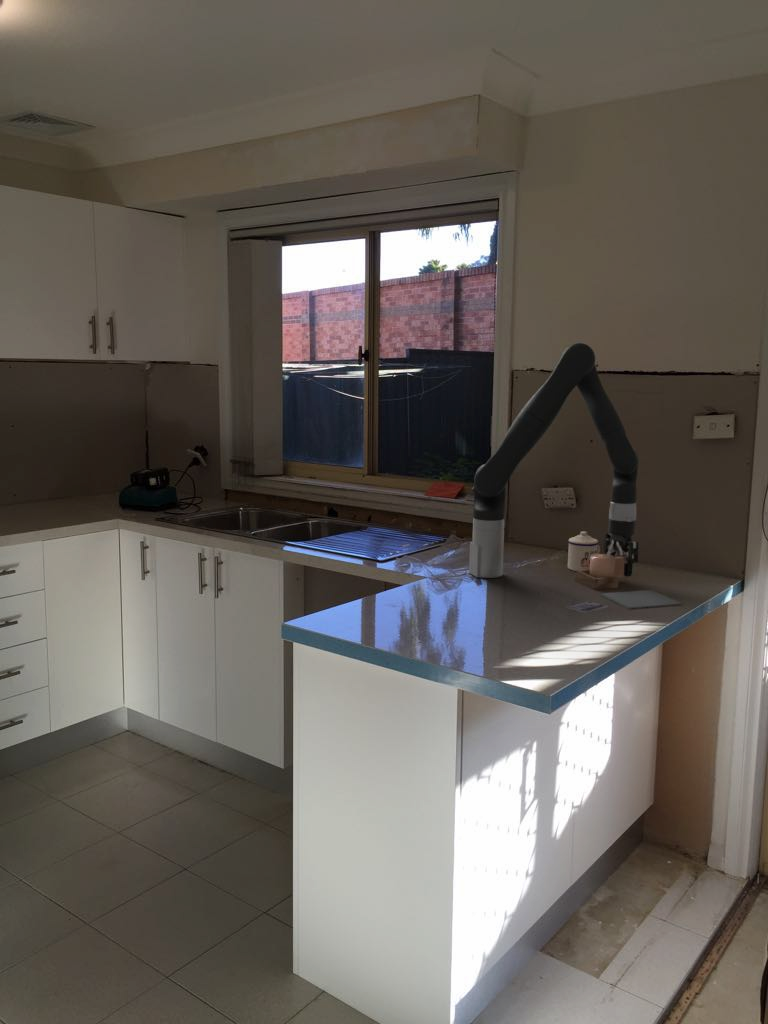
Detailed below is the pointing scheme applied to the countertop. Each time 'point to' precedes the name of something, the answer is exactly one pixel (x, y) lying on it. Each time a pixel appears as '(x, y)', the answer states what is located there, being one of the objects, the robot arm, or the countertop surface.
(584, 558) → the teacup with lid
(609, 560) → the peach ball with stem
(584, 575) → the walnut holder
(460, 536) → the countertop surface
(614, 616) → the countertop surface
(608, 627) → the countertop surface
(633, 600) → the charcoal mat
